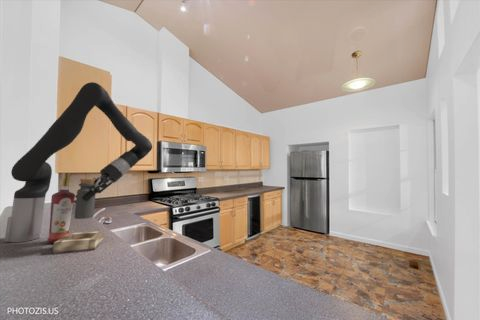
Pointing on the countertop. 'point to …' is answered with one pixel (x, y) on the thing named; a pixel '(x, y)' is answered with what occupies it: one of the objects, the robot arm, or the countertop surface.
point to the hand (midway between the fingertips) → (80, 198)
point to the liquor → (61, 210)
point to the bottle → (84, 207)
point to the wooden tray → (78, 242)
